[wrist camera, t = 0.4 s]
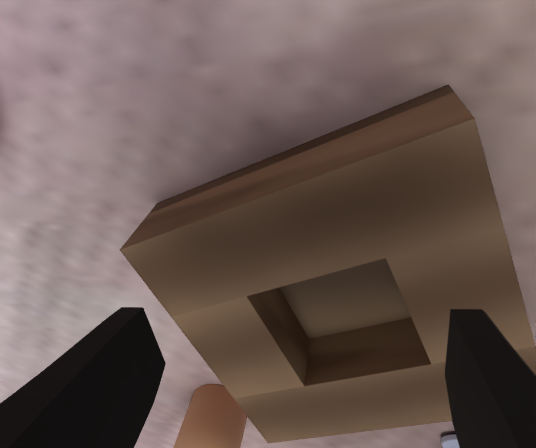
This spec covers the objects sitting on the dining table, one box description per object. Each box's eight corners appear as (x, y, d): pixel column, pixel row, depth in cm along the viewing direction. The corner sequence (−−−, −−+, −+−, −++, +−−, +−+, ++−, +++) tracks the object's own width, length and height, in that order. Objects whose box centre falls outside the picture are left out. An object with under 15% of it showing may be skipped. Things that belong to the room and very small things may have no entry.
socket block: (520, 338, 21) (552, 408, 18) (278, 382, 27) (268, 443, 23) (448, 84, 16) (474, 118, 12) (156, 203, 21) (119, 249, 17)
